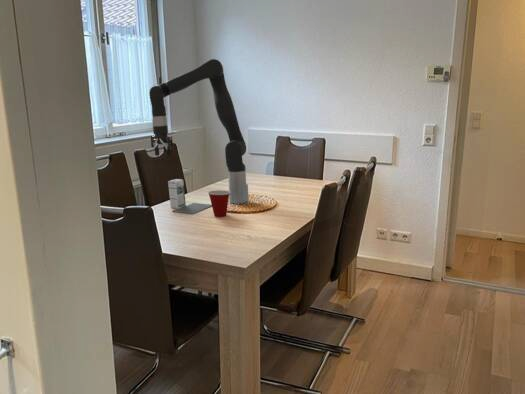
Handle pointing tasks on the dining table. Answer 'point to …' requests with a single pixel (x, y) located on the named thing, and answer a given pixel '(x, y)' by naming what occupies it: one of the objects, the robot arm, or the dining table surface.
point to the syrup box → (177, 193)
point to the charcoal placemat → (192, 208)
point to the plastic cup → (219, 202)
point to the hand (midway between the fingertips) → (162, 155)
